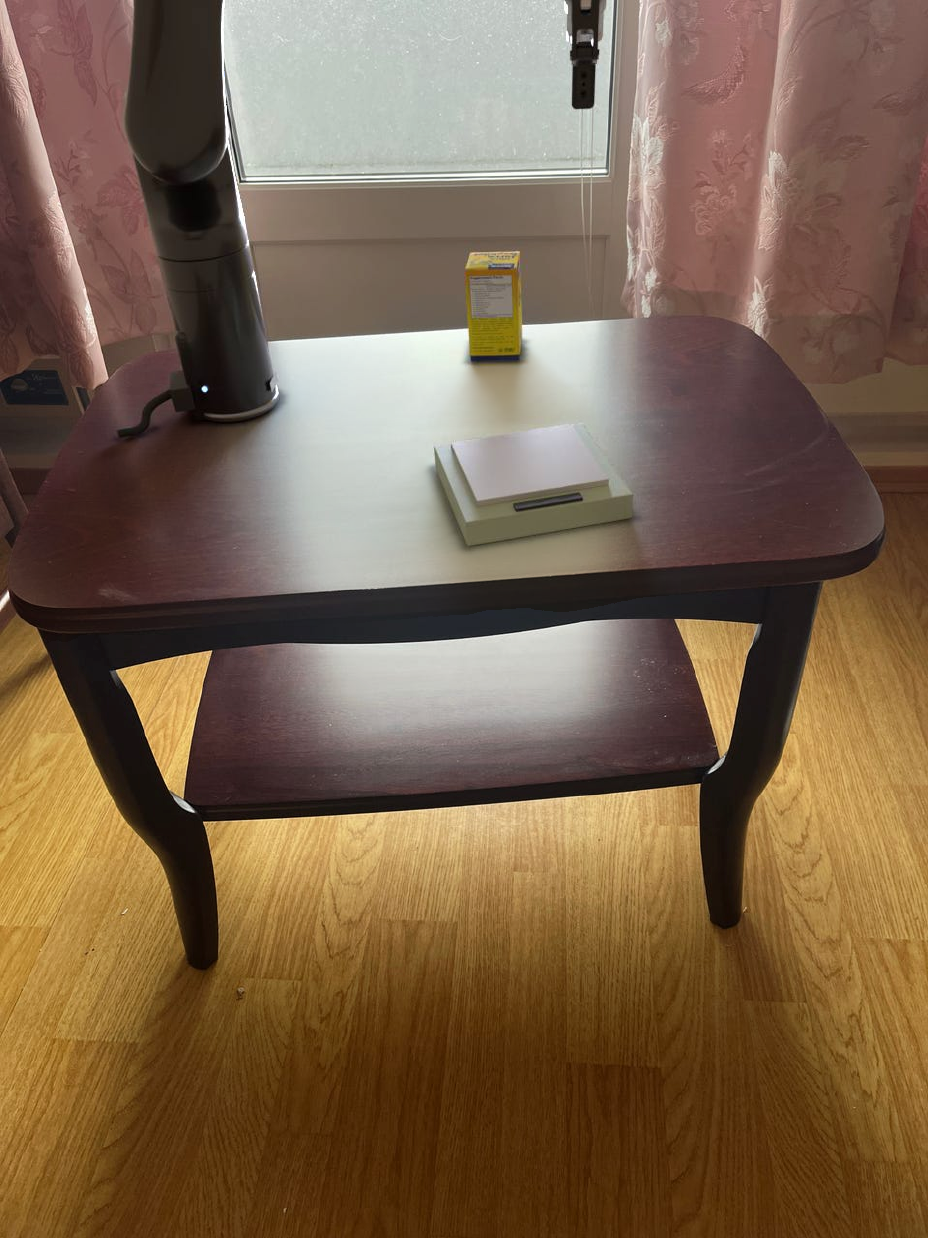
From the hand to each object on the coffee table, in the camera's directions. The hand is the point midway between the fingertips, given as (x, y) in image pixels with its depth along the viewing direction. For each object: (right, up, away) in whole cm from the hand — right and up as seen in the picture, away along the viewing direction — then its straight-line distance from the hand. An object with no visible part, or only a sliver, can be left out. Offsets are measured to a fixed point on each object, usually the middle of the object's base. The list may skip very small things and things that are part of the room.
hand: (582, 99), depth 96 cm
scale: (-6, -41, -8) cm, 42 cm away
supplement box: (-8, -21, +18) cm, 29 cm away
